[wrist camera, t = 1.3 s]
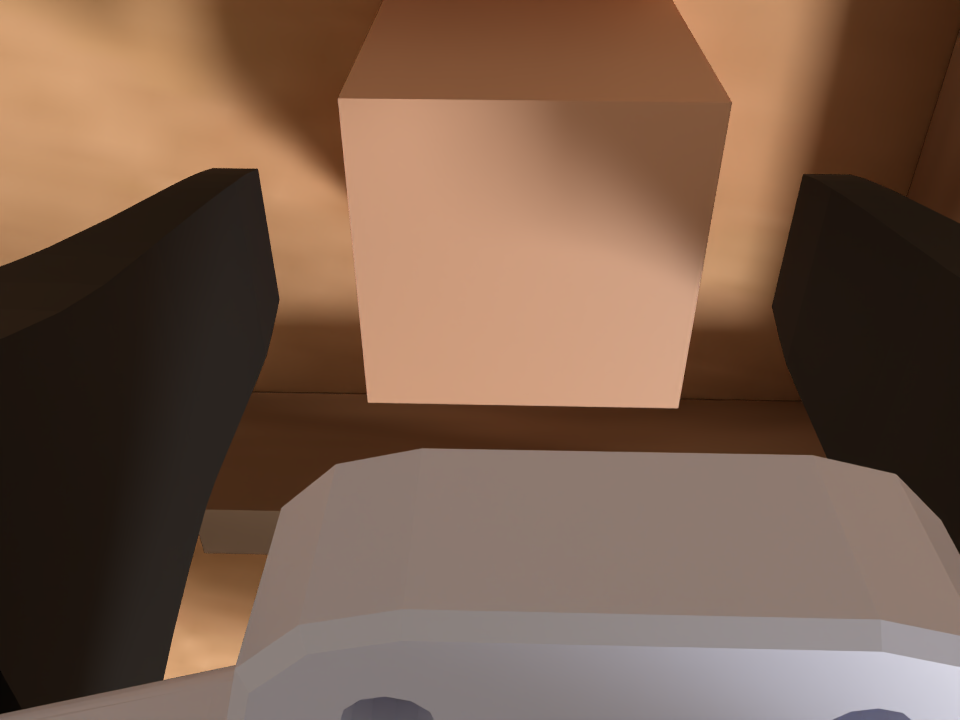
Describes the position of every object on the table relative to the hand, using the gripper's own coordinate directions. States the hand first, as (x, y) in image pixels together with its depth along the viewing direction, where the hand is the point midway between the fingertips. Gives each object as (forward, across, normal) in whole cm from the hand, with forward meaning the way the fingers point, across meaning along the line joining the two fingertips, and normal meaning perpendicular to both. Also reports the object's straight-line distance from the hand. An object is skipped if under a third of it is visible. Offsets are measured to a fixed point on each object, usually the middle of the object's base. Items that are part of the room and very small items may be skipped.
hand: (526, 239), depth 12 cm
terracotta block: (+4, 0, 0) cm, 4 cm away
